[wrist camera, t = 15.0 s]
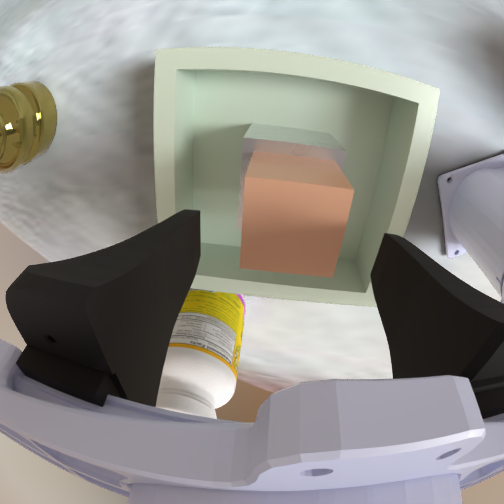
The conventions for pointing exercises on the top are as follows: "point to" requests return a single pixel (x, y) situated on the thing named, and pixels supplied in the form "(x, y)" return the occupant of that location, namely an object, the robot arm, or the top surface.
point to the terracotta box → (293, 214)
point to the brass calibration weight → (25, 123)
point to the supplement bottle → (203, 354)
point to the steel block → (286, 149)
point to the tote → (294, 116)
